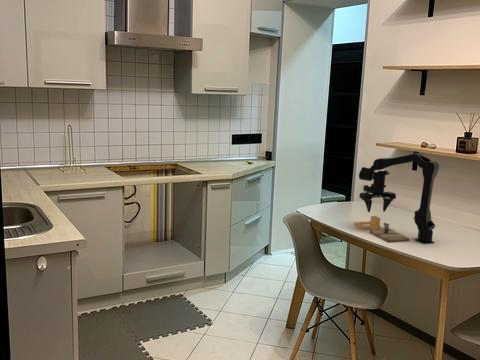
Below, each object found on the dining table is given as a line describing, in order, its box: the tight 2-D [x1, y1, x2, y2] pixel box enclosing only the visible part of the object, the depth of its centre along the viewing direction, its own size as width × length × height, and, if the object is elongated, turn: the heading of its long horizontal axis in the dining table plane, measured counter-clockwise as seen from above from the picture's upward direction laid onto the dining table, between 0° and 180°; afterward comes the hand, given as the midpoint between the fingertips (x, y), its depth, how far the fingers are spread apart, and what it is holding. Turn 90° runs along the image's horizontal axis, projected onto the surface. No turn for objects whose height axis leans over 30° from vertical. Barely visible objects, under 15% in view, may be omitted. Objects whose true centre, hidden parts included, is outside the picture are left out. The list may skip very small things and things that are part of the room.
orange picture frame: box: [353, 215, 381, 230], centre depth 252 cm, size 14×10×7 cm
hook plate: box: [369, 222, 410, 244], centre depth 236 cm, size 16×12×6 cm
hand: (376, 211), depth 246 cm, fingers open, 9 cm apart
